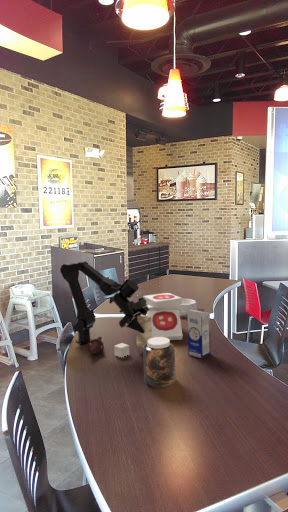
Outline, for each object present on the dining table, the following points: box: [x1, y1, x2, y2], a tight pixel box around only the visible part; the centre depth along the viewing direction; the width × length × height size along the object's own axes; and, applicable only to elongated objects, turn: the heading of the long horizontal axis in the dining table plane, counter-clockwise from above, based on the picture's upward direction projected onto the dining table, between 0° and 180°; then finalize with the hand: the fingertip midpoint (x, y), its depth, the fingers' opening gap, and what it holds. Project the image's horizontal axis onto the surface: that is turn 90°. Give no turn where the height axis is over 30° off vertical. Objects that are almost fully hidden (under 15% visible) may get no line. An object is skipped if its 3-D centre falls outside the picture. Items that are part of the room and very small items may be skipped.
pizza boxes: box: [142, 292, 184, 341], centre depth 186 cm, size 19×30×18 cm, turn 3°
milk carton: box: [186, 308, 211, 359], centre depth 158 cm, size 7×7×20 cm
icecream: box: [87, 336, 105, 355], centre depth 164 cm, size 7×7×15 cm
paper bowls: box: [178, 298, 198, 317], centre depth 223 cm, size 15×15×8 cm
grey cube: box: [114, 342, 130, 359], centre depth 161 cm, size 4×4×4 cm
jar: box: [142, 337, 177, 389], centre depth 135 cm, size 12×12×15 cm
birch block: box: [135, 314, 152, 349], centre depth 164 cm, size 5×5×13 cm
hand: (146, 331), depth 163 cm, fingers closed on birch block, 5 cm apart
